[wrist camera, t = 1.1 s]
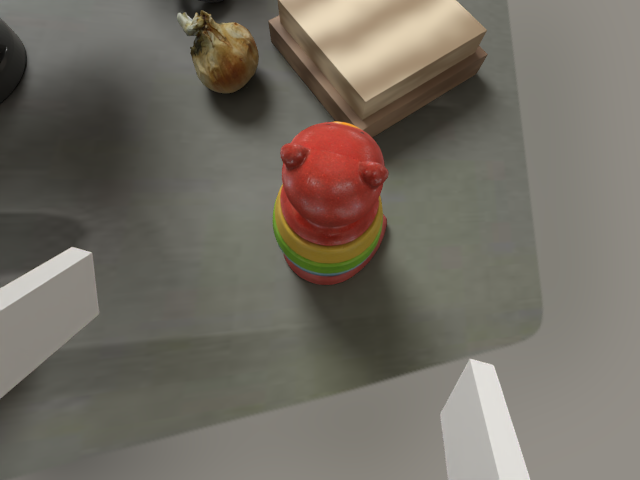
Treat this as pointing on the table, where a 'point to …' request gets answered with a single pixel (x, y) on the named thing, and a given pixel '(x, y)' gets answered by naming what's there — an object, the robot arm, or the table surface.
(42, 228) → the table surface
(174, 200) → the table surface
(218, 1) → the milk frother
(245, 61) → the onion
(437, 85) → the stepped wooden block
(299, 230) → the stacking bear
